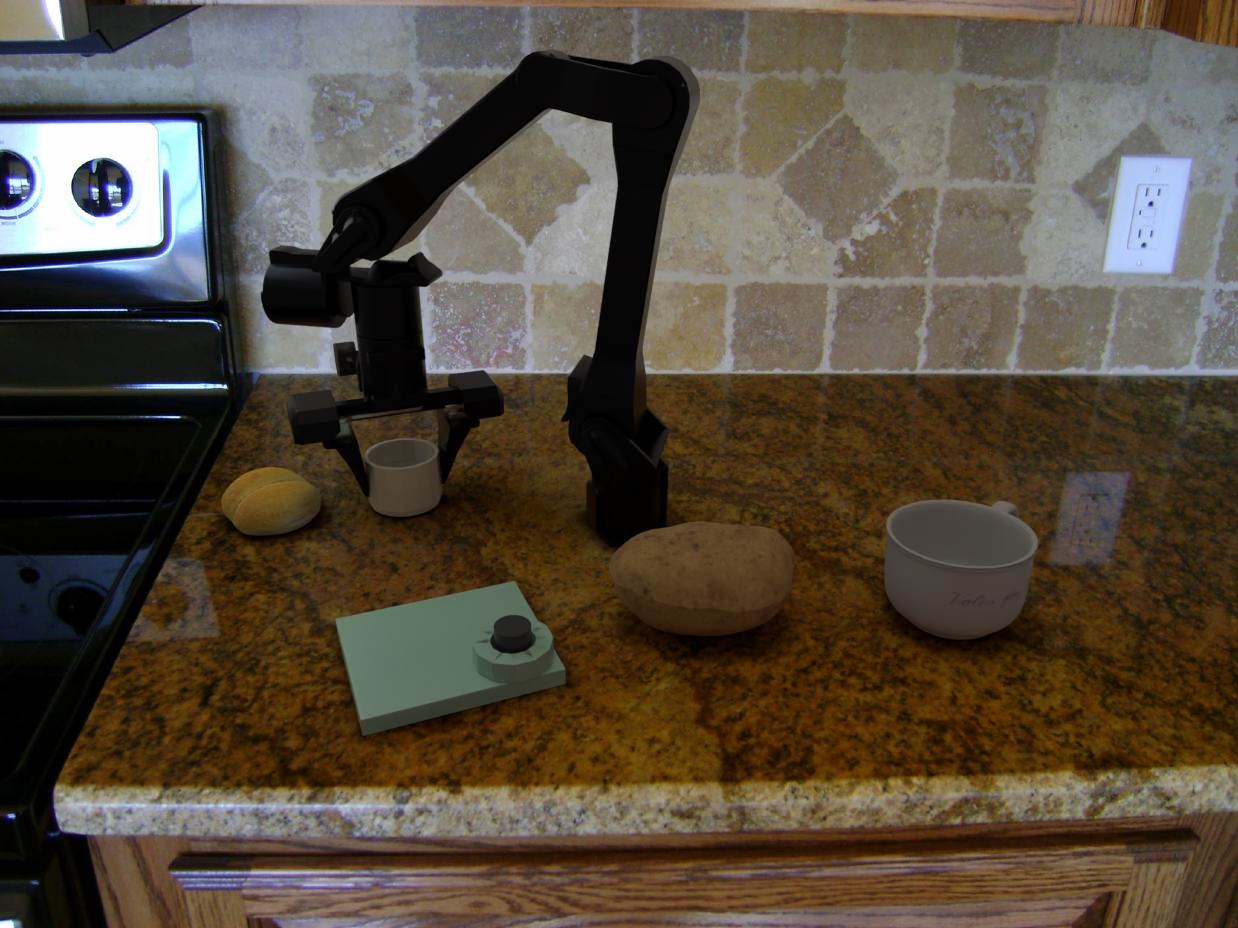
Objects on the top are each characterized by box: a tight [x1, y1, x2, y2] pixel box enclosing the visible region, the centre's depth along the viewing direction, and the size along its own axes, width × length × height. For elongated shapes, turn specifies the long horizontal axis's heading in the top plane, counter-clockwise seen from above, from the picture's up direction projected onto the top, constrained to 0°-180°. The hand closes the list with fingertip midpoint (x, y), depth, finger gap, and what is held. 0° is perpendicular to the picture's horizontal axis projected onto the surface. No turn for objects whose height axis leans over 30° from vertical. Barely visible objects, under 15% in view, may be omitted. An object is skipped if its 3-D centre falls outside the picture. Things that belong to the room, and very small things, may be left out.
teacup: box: [883, 499, 1039, 641], centre depth 72 cm, size 14×11×8 cm
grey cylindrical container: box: [362, 437, 443, 518], centre depth 88 cm, size 7×7×5 cm
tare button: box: [493, 615, 532, 654], centre depth 65 cm, size 3×3×2 cm
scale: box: [335, 580, 567, 737], centre depth 67 cm, size 14×12×3 cm
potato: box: [608, 520, 796, 637], centre depth 70 cm, size 10×14×8 cm
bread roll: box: [220, 466, 322, 537], centre depth 86 cm, size 8×9×4 cm
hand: (405, 488), depth 89 cm, fingers closed on grey cylindrical container, 7 cm apart
